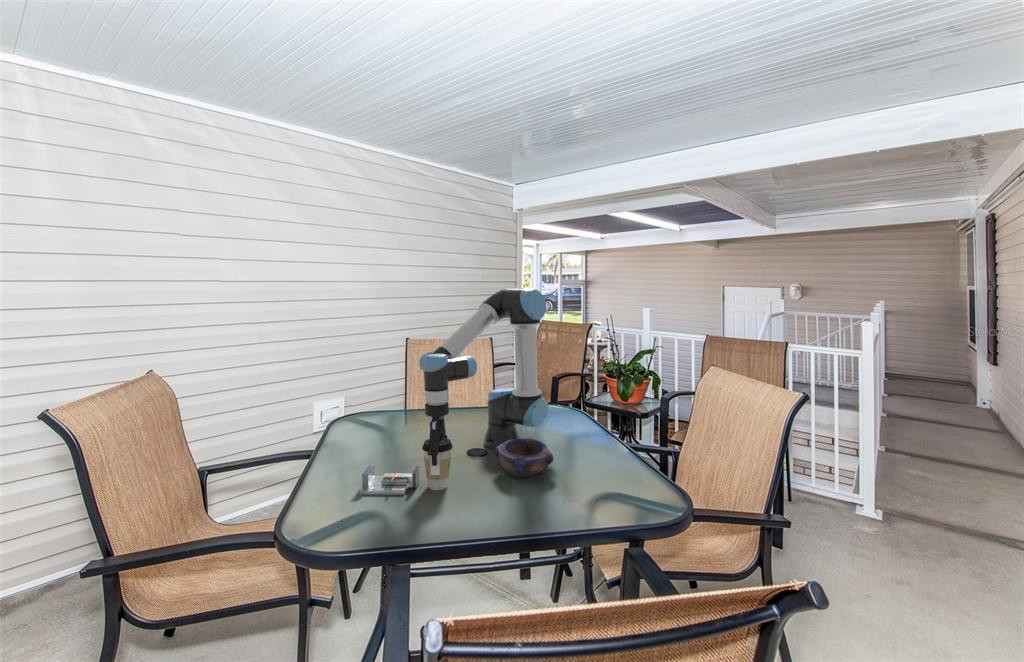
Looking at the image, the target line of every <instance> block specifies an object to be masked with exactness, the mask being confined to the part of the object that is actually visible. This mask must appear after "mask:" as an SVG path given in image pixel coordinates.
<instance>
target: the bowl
mask: <svg viewBox="0 0 1024 662" xmlns="http://www.w3.org/2000/svg"><path fill="white" fill-rule="evenodd" d="M494 454H495V456H496V458H497V459H498V461H500V463H501V464H500V465H501V466H502V467H503V468H504V470H505V471H506V472H507V473H509V474H511V475H512V476H513V477H518V478H524V477H525V478H526V477H532V476H535V475H537V474H538V473H541V471H543V470H544V469H545V468H547V467H548V466H549V465H551V464H552V463H554V455H553V453H552V452H551V451H550V449H549V447H548V446H547V444H546V443H544V442H542V441H540V440H538V439H534V438H530V437H528V438H527V437H523V438H522V437H520V439H512V440H508V441H506V442H504V443H502V444H501V445H499V446H497V447H496V448H495V449H494Z"/></svg>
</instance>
